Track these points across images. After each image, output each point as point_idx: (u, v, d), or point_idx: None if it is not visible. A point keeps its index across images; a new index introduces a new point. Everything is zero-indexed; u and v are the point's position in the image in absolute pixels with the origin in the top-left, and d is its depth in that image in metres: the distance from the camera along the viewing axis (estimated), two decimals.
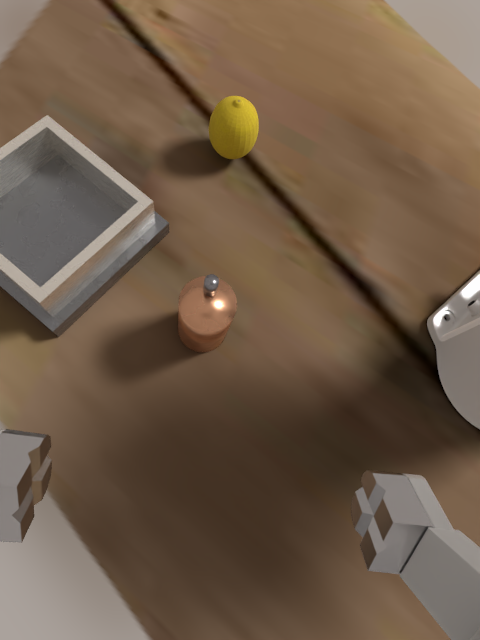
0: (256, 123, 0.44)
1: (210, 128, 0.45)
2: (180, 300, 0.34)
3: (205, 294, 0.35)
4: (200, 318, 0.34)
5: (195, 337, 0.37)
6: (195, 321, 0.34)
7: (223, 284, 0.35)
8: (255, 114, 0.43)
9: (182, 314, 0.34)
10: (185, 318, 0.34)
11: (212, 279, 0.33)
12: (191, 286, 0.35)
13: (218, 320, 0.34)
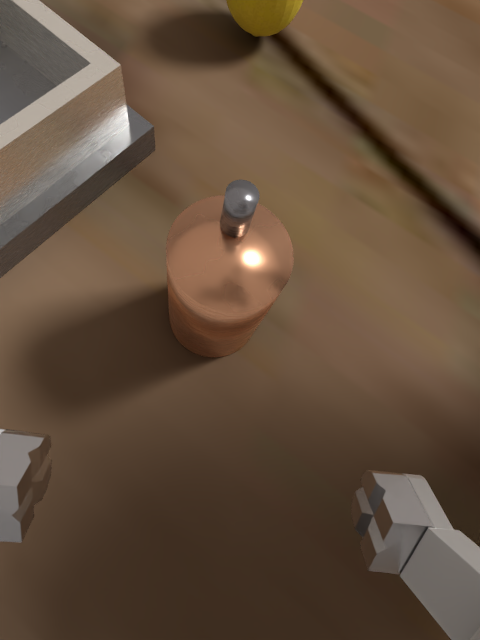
0: None
1: None
2: (170, 243, 0.15)
3: (225, 231, 0.16)
4: (215, 284, 0.15)
5: (202, 327, 0.18)
6: (203, 290, 0.15)
7: (263, 213, 0.17)
8: None
9: (174, 274, 0.15)
10: (181, 283, 0.15)
11: (245, 191, 0.14)
12: (194, 215, 0.16)
13: (254, 288, 0.15)
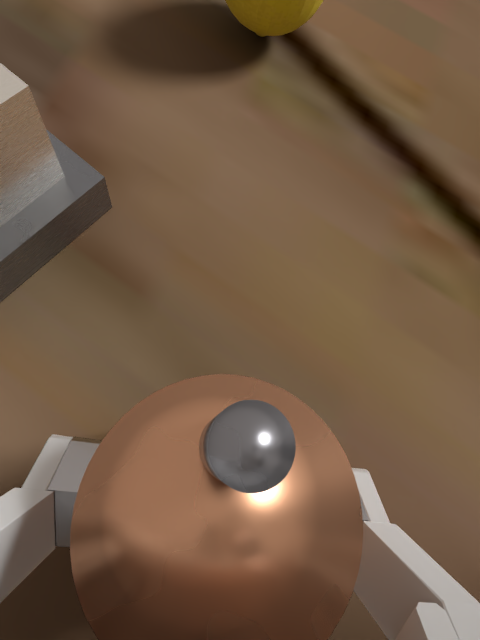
0: None
1: None
2: (81, 516, 0.07)
3: (210, 473, 0.07)
4: (187, 621, 0.06)
5: None
6: None
7: (294, 413, 0.08)
8: None
9: (87, 603, 0.06)
10: (102, 629, 0.06)
11: (258, 435, 0.05)
12: (142, 432, 0.07)
13: (279, 621, 0.07)
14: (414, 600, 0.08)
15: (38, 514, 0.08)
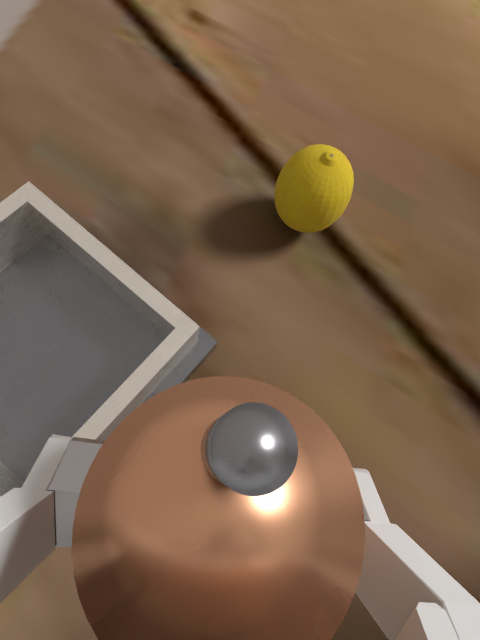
0: (352, 186, 0.28)
1: (279, 192, 0.29)
2: (83, 518, 0.07)
3: (212, 475, 0.07)
4: (189, 623, 0.06)
5: None
6: None
7: (296, 415, 0.08)
8: (352, 173, 0.28)
9: (89, 606, 0.06)
10: (104, 631, 0.06)
11: (261, 438, 0.05)
12: (144, 434, 0.07)
13: (281, 624, 0.07)
14: (415, 600, 0.08)
15: (38, 514, 0.08)
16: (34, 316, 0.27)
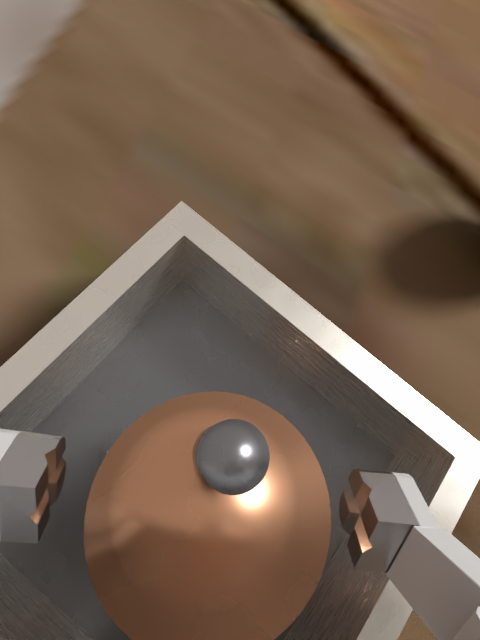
0: None
1: None
2: (93, 512, 0.08)
3: (201, 477, 0.08)
4: (181, 599, 0.08)
5: None
6: (156, 617, 0.08)
7: (274, 425, 0.09)
8: None
9: (98, 584, 0.08)
10: (110, 605, 0.08)
11: (239, 447, 0.07)
12: (144, 441, 0.08)
13: (258, 601, 0.08)
14: (470, 604, 0.08)
15: None
16: None
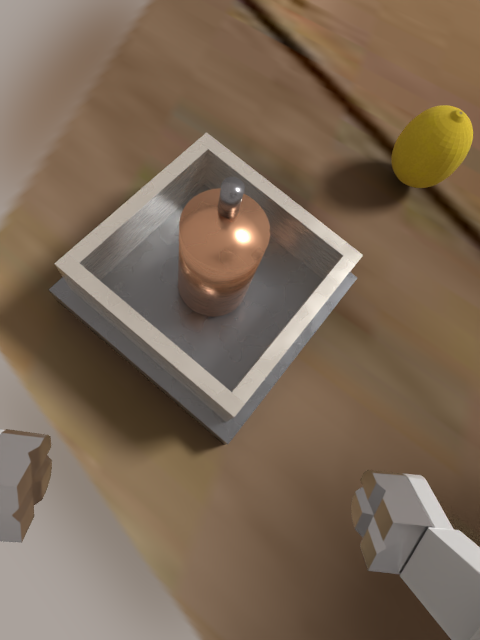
0: (471, 142, 0.32)
1: (404, 148, 0.33)
2: (182, 222, 0.22)
3: (221, 213, 0.22)
4: (214, 250, 0.22)
5: (204, 286, 0.24)
6: (205, 254, 0.21)
7: (249, 201, 0.23)
8: (472, 130, 0.32)
9: (185, 243, 0.21)
10: (189, 249, 0.21)
11: (234, 185, 0.21)
12: (199, 202, 0.22)
13: (241, 254, 0.22)
14: None
15: None
16: None
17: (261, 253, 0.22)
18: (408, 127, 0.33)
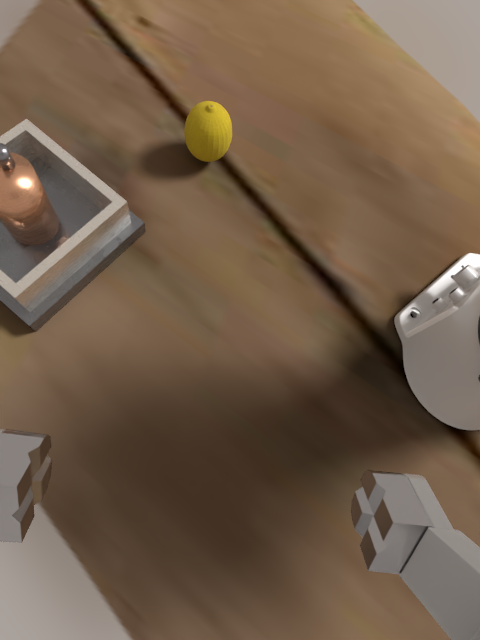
0: (229, 127, 0.46)
1: (185, 132, 0.46)
2: None
3: (1, 167, 0.35)
4: None
5: (1, 216, 0.37)
6: None
7: (23, 160, 0.36)
8: (228, 119, 0.45)
9: None
10: None
11: (0, 147, 0.34)
12: None
13: (12, 192, 0.35)
14: None
15: None
16: None
17: (25, 191, 0.35)
18: None
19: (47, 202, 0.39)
